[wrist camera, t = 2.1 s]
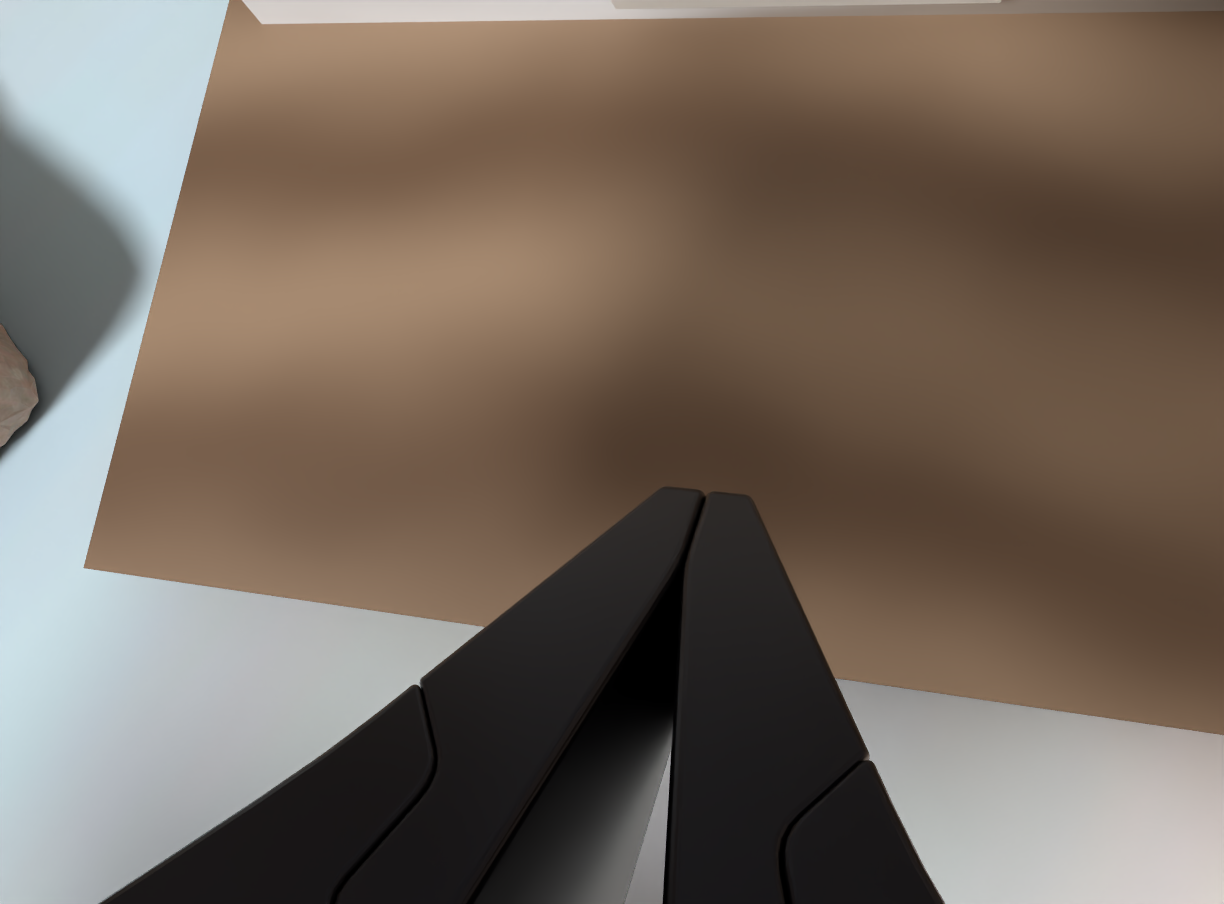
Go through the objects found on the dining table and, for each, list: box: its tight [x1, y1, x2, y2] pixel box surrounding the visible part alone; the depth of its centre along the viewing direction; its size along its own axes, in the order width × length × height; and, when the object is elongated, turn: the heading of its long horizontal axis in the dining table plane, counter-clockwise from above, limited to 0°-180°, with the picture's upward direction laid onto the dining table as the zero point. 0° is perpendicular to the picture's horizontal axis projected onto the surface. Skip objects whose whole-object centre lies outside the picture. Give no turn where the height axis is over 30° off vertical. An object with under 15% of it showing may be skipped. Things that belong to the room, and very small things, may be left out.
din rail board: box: [84, 0, 1224, 735], centre depth 16 cm, size 18×26×4 cm
